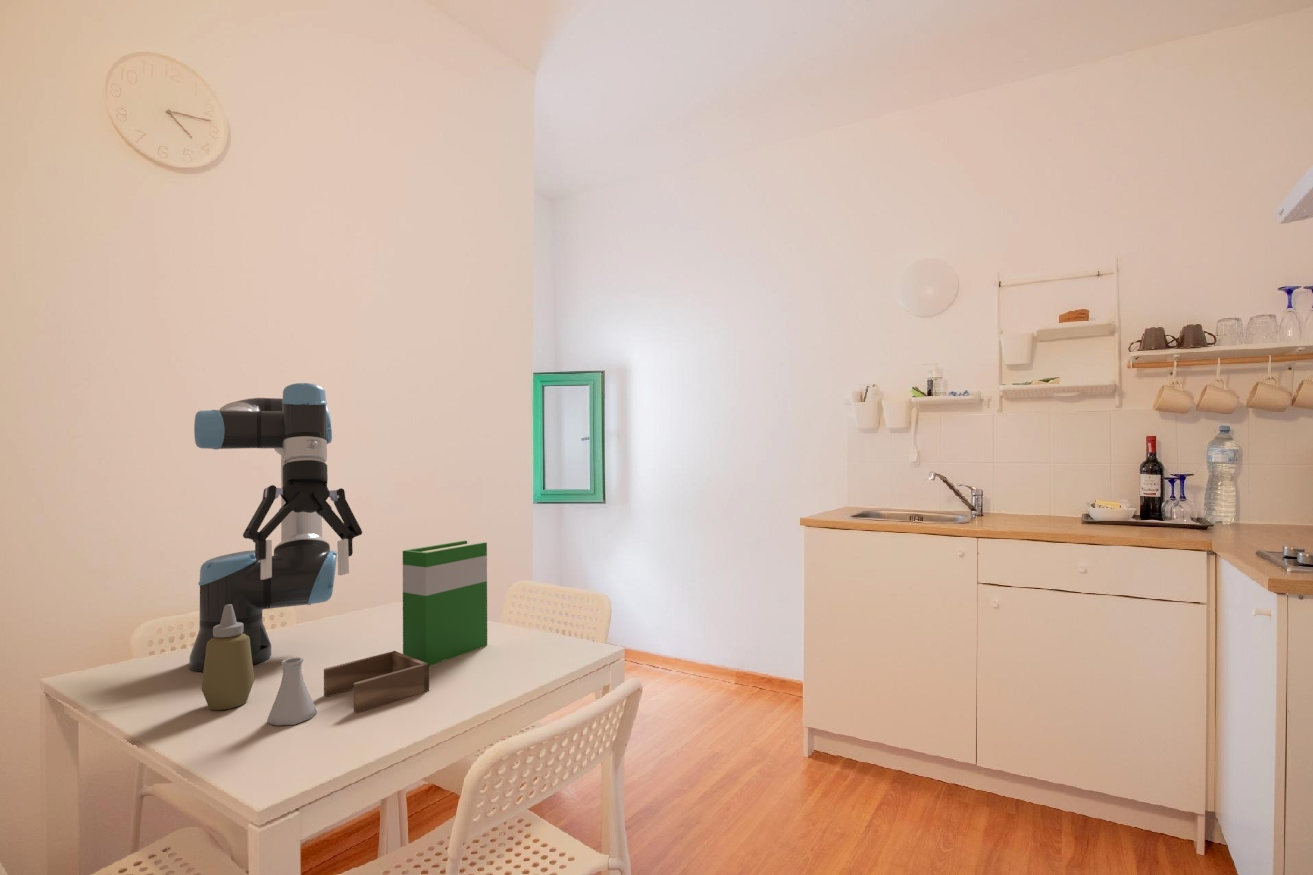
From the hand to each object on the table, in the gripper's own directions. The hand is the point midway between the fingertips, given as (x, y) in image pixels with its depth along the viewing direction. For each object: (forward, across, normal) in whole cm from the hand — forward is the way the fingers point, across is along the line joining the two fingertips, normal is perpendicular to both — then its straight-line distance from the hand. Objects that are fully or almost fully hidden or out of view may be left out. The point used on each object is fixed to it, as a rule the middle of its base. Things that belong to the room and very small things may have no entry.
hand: (306, 576), depth 121 cm
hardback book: (+18, +35, +10) cm, 41 cm away
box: (+22, +13, 0) cm, 26 cm away
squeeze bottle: (+21, -7, +16) cm, 27 cm away
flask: (+24, -2, +1) cm, 24 cm away
